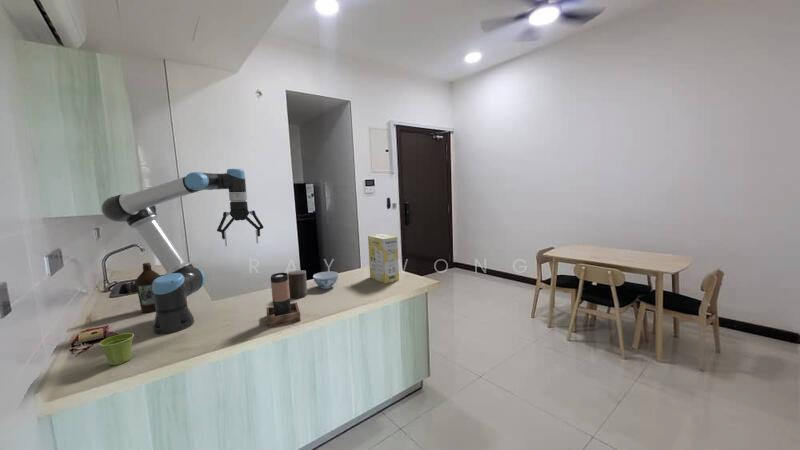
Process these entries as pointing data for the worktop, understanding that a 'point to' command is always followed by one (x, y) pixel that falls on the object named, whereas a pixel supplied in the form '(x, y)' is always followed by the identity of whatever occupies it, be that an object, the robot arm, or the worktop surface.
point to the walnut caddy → (283, 316)
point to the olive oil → (146, 288)
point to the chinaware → (325, 279)
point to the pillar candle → (297, 284)
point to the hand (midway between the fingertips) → (242, 244)
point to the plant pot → (118, 348)
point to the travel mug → (280, 294)
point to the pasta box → (383, 258)
